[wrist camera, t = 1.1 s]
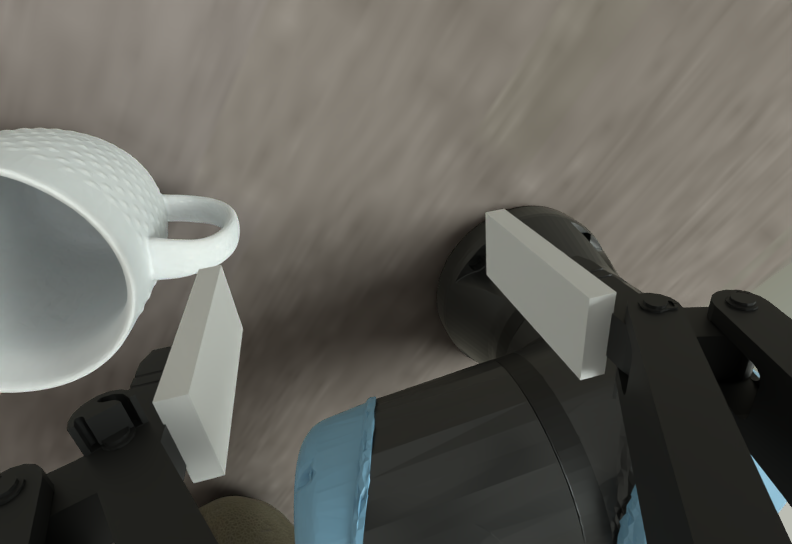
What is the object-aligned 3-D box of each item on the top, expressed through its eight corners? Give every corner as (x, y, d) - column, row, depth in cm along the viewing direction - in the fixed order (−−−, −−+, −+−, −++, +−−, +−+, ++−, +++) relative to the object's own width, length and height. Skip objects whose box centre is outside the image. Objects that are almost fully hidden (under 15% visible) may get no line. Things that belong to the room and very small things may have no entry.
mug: (241, 117, 30) (217, 164, 18) (251, 267, 34) (237, 377, 23) (-30, 103, 26) (-268, 151, 15) (23, 272, 31) (-124, 406, 20)
